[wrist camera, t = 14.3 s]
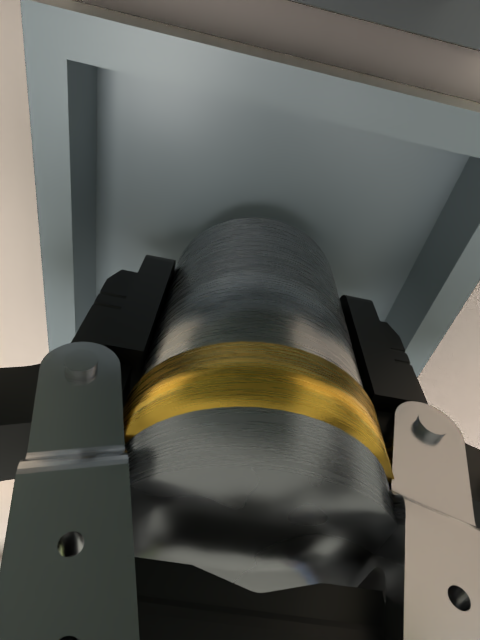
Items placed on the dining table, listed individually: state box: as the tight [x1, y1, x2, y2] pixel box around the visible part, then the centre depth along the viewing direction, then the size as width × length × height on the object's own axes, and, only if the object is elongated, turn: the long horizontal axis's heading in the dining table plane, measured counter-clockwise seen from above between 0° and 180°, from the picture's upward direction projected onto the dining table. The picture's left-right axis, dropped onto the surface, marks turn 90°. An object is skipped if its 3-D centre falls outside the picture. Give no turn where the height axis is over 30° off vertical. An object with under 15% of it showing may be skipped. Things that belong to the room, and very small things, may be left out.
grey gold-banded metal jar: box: [123, 217, 397, 593], centre depth 9 cm, size 5×5×7 cm
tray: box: [20, 0, 480, 377], centre depth 12 cm, size 11×11×2 cm
